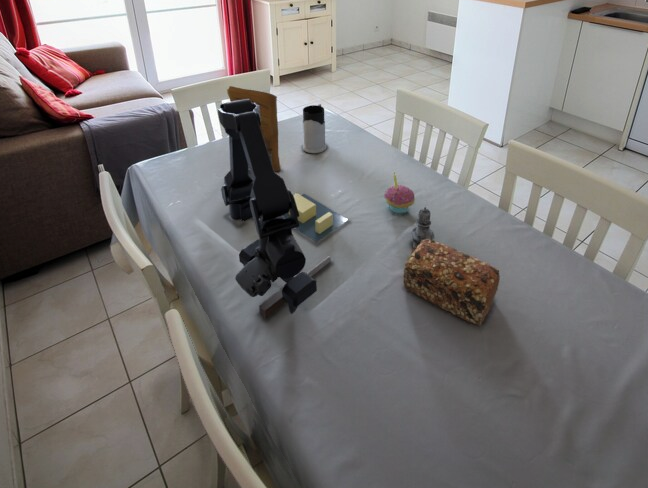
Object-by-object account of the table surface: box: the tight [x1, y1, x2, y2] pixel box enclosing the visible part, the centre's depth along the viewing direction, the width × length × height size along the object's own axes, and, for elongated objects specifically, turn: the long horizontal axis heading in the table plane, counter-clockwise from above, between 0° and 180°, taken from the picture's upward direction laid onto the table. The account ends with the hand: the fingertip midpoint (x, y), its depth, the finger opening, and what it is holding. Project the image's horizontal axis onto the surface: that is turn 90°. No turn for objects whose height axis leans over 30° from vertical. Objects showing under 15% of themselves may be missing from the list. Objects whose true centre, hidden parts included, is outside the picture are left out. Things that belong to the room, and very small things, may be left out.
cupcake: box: [384, 172, 416, 214], centre depth 121 cm, size 9×8×12 cm
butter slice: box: [315, 212, 333, 234], centre depth 113 cm, size 2×5×4 cm, turn 139°
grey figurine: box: [410, 206, 435, 250], centre depth 108 cm, size 6×6×12 cm
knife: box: [258, 255, 331, 320], centre depth 96 cm, size 2×20×2 cm, turn 139°
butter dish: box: [283, 193, 349, 243], centre depth 119 cm, size 18×12×1 cm, turn 49°
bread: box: [403, 239, 501, 327], centre depth 94 cm, size 19×11×10 cm, turn 54°
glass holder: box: [302, 103, 328, 154], centre depth 156 cm, size 9×14×15 cm, turn 170°
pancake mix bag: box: [226, 85, 282, 172], centre depth 139 cm, size 7×19×28 cm, turn 58°
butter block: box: [288, 192, 316, 223], centre depth 119 cm, size 8×5×4 cm, turn 49°
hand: (278, 300), depth 92 cm, fingers open, 9 cm apart
